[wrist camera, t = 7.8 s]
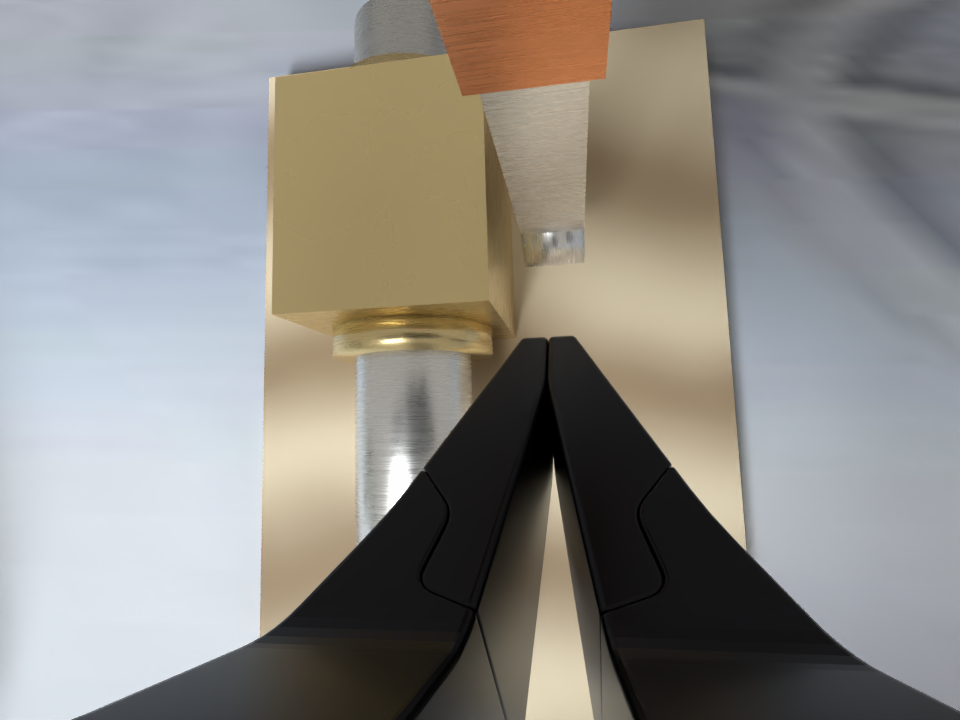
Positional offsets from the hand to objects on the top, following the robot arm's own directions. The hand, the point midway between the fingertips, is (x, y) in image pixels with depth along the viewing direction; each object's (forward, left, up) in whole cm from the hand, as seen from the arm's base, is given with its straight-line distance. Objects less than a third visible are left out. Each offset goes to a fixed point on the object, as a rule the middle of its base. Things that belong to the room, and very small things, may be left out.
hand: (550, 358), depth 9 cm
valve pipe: (+4, 0, -9) cm, 10 cm away
